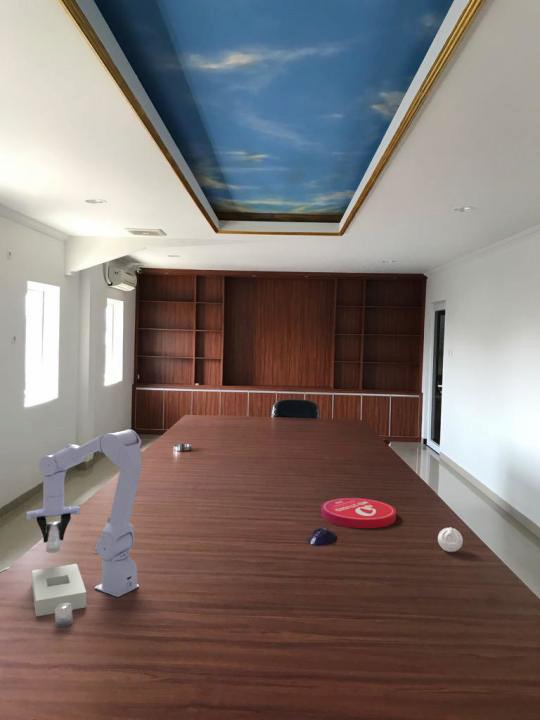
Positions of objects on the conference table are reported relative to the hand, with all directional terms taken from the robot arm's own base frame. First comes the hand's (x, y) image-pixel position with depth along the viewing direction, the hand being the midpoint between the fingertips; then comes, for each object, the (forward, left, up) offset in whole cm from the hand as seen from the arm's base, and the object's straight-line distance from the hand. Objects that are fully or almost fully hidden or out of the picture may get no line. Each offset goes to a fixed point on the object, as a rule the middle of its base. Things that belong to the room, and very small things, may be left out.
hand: (53, 540), depth 161 cm
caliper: (+8, -26, -10) cm, 29 cm away
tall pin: (0, 0, -3) cm, 3 cm away
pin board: (-13, +8, -10) cm, 18 cm away
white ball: (-94, -87, -10) cm, 128 cm away
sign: (-53, -105, -10) cm, 118 cm away
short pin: (-27, +17, -10) cm, 33 cm away
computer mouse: (-53, -72, -10) cm, 90 cm away
